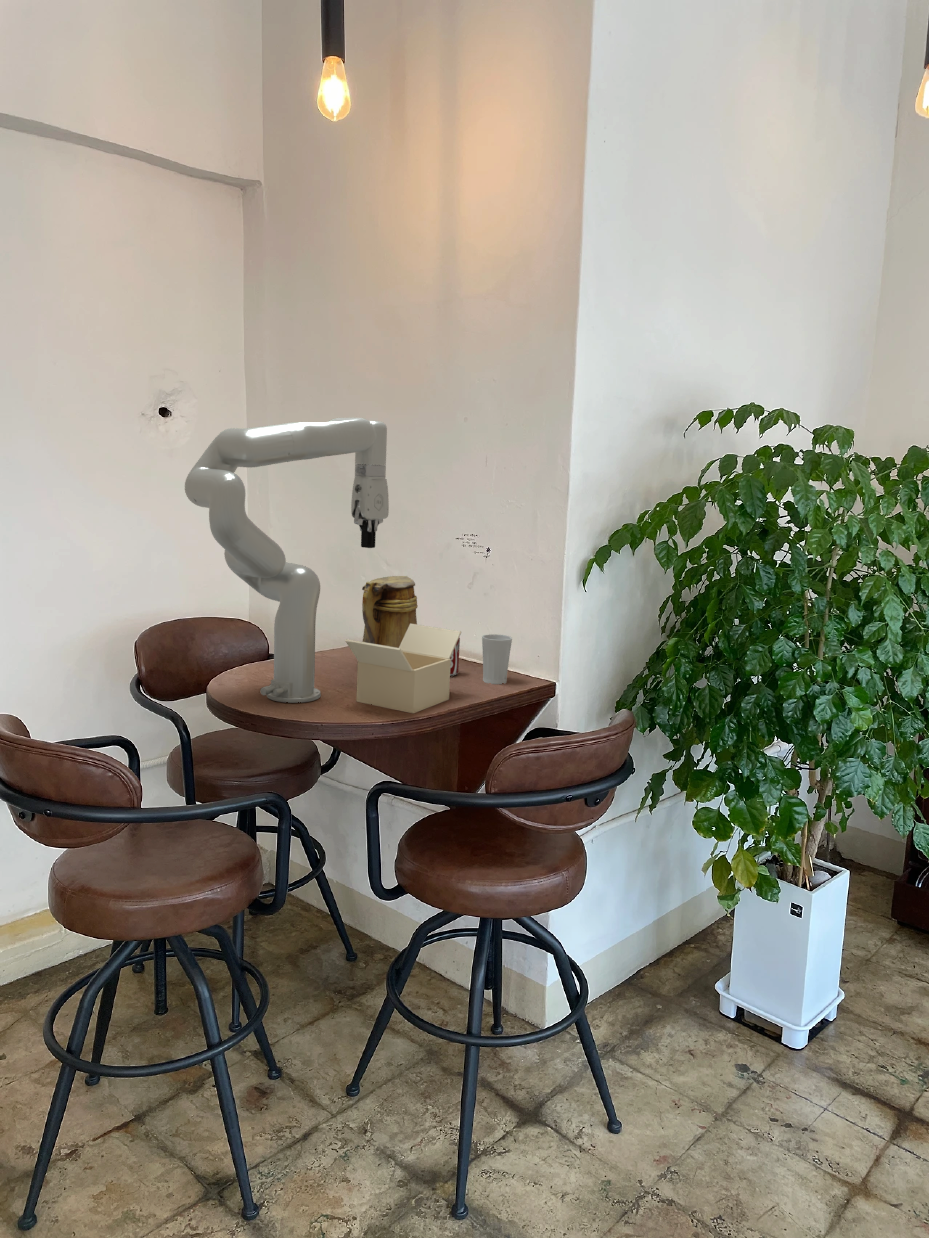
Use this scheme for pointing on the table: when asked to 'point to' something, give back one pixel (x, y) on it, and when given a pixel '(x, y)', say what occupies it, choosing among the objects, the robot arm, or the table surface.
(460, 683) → the table surface
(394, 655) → the front flap
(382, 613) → the tankard
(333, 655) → the table surface
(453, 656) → the soda can
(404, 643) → the back flap
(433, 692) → the carton
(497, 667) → the cup
